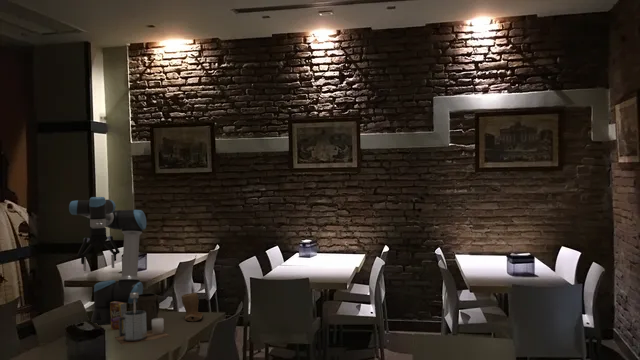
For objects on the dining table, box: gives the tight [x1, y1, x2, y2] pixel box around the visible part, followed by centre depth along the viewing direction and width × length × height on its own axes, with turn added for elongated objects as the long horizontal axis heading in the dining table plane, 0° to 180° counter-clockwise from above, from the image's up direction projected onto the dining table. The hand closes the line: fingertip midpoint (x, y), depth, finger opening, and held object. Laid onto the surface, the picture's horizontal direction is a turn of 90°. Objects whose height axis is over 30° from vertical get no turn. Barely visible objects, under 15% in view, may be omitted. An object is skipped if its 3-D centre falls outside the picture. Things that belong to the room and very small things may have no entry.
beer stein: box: [136, 293, 160, 332], centre depth 301 cm, size 15×11×20 cm
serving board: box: [114, 330, 172, 346], centre depth 283 cm, size 16×24×2 cm, turn 122°
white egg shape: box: [151, 317, 165, 334], centre depth 290 cm, size 6×6×7 cm
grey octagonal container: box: [118, 309, 148, 343], centre depth 279 cm, size 11×13×13 cm
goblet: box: [130, 292, 139, 315], centre depth 280 cm, size 8×8×20 cm
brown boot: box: [181, 292, 203, 322], centre depth 323 cm, size 15×12×15 cm
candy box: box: [110, 301, 128, 331], centre depth 302 cm, size 9×4×15 cm, turn 57°
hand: (99, 269), depth 283 cm, fingers open, 13 cm apart
